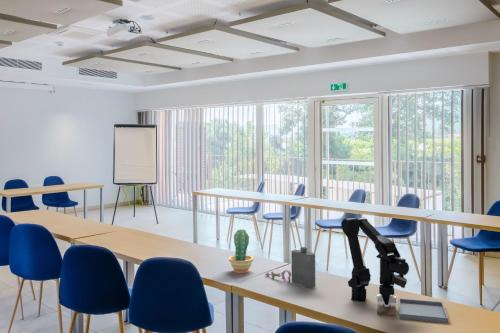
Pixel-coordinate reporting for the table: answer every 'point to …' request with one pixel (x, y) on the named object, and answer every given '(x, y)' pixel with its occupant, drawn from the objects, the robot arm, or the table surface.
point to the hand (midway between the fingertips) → (386, 303)
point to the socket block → (386, 309)
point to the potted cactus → (241, 253)
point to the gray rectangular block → (391, 299)
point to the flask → (303, 267)
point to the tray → (422, 310)
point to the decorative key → (280, 275)
